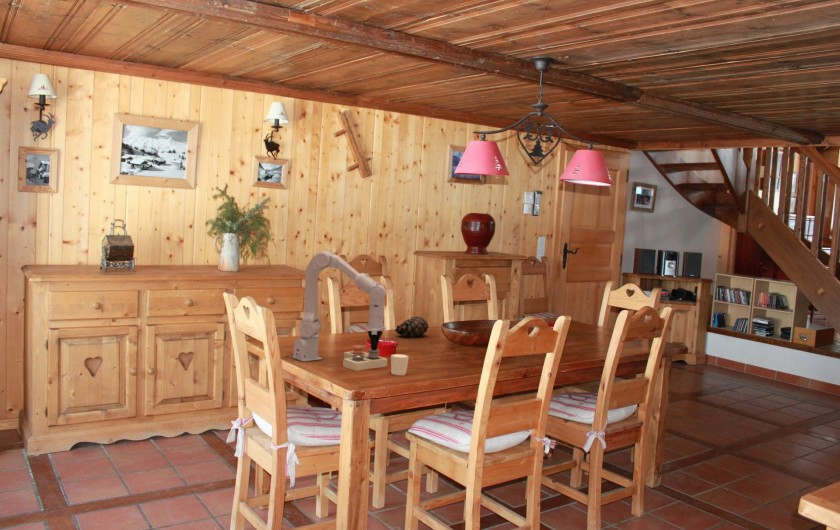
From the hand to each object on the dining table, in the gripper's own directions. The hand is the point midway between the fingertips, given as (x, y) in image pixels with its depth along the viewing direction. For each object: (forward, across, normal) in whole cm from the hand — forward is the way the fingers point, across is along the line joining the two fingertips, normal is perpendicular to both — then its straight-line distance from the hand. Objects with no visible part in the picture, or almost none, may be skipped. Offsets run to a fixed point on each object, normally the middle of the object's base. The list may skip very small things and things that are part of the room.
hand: (374, 349), depth 284 cm
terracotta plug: (+5, +7, +7) cm, 11 cm away
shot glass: (+7, -11, -11) cm, 16 cm away
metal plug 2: (+4, 0, 0) cm, 4 cm away
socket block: (+6, +1, +6) cm, 9 cm away
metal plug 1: (+6, -6, +6) cm, 10 cm away
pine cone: (+7, +69, -15) cm, 70 cm away
